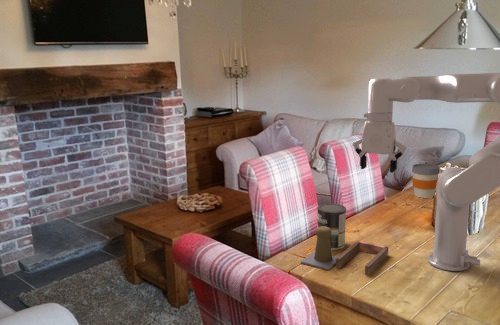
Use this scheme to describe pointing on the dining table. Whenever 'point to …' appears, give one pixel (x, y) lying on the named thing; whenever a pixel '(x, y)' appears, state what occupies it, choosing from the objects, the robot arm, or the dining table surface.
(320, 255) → the tan hourglass shape
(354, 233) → the dining table surface
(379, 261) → the brown u-shaped frame
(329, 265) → the coaster
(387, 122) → the robot arm
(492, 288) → the dining table surface
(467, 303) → the dining table surface
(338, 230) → the coffee can
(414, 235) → the dining table surface
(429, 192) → the reusable coffee cup
